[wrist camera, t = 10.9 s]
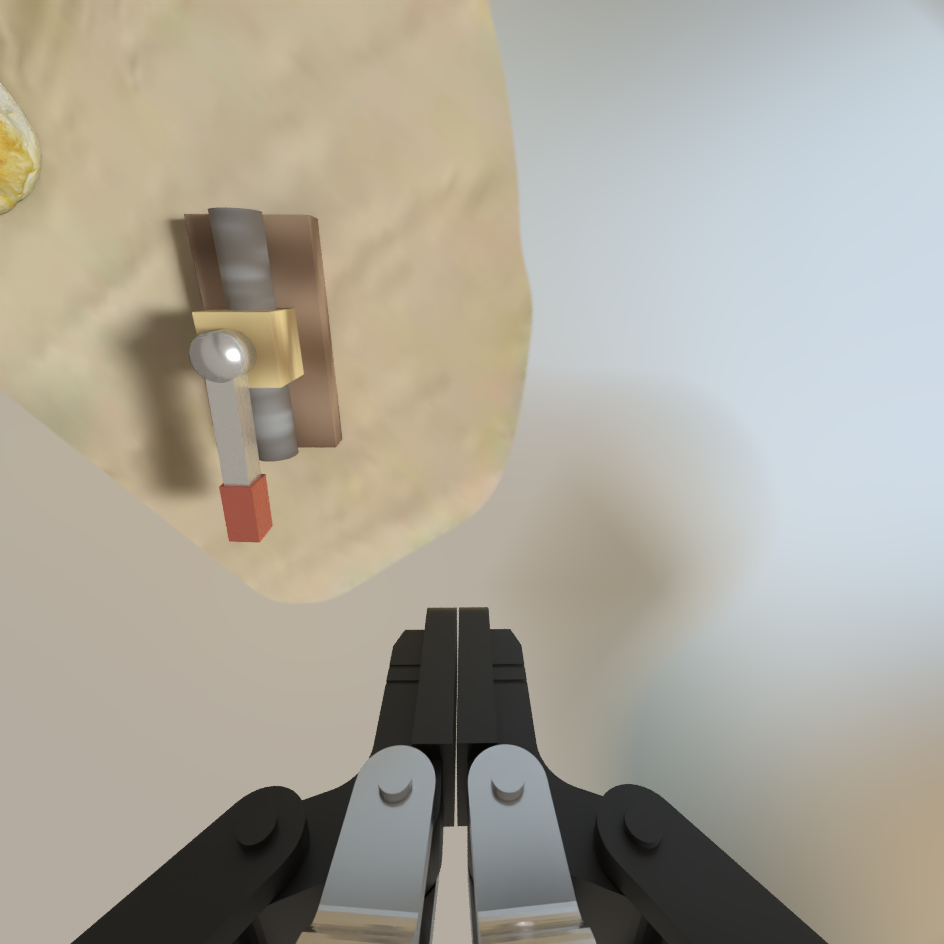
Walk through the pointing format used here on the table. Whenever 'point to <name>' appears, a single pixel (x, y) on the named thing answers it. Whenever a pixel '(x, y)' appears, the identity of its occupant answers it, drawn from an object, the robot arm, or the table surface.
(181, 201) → the table surface
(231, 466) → the valve lever
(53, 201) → the table surface
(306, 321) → the valve board
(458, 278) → the table surface
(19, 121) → the bread roll
